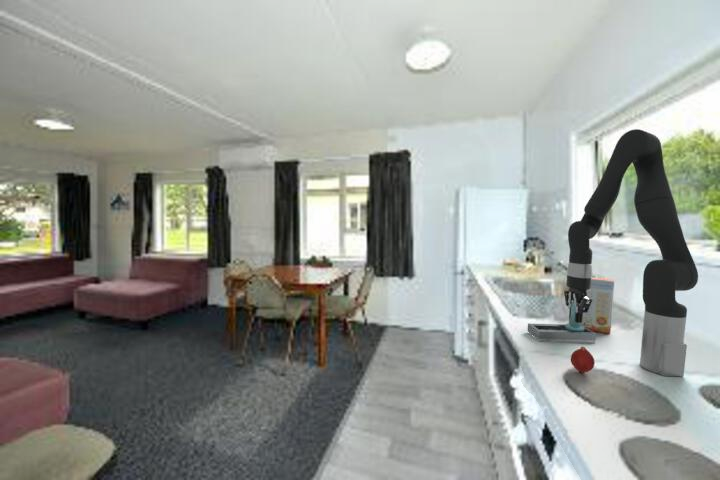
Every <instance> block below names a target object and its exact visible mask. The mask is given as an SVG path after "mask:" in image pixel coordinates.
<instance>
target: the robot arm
mask: <svg viewBox="0 0 720 480" xmlns="http://www.w3.org/2000/svg"><path fill="white" fill-rule="evenodd" d="M662 149H663V148H662V142H661V140H660V139H659V138H658V137H657V136H656V134H652V133H650V132H648V131H645V130H643V129H637V128H635V129H631V130H629V131H626V132H625V133H623V134H622V135H620V137H619V139H618V140H617V142H616V145H615V146H614V149H613V151H612V154H611V156H610V158H609V160H608V163H607V166H606V168H605V170H604V172H603V174H602V177H601V179H600V181H599V183H598V185H597V186H596V188H595V190H594V191H593V193H592V195H591V196H590V197H589V200H588V201H587V202H586V204H585V206H584V208H583V209H584V210H583V212H584V214H583V216H582V218H581V219H580V220H577V221H574V222H572V223H571V224H570V225H569V227H568V231H567V238H568V239H567V241H568V246H569V257H568V265H567V268H566V269H567V271H566V284H565V286H566V287H567V288H568V290H567V289H566V290H564V291H563V293H564V300H565V302H564V303H565V306H566V307H568V309H569V313H568V320H569V319H570V317H571V305H572V302H573V301H574V306H576V313H575V322H577V323H582V318H583V313H587V312H588V310H589V307H590V305H591V302H592V299H588V297H587V290H588V289H590V286H591V277H592V271H593V269H592V263H593V262H592V261H593V250H592V248H590V240H592V239H593V238H594V237H595V236H597V234H598V233H599V231H600V229H601V227H602V225H603V223H604V220H605V217H606V216H607V214H608V213H609V212H610V210H611V208H612V207H613V206H614V204H615V202H616V201H617V198H619V194H620V190H621V186H622V181H623V179H624V177H625V174H626V172H627V170H628V168H629V167H630V166H631V165H632V164H633V167H634V170H635V174H636V178H637V179H636V187H635V191H634V197H633V200H634V202H633V203H634V208H635V211H636V212H635V213H636V216H637V220H638V221H639V224H640V225H641V226H642V228H643V229H644V231H646V232H647V234H649V236H650V237H651V238H652V239H653V241H655V243H656V244H657V246H658V248H659V250H660V253H661V257H662V259H653V260H651V261H649V262H648V263H647V264H646V265H645V267H644V270H643V275H642V276H643V277H642V301H643V303H644V315H643V324H642V325H643V326H642V337H641V347H640V358H639V366H640V367H642V368H643V369H645V370H647V371H649V372H652V373H655V374H658V375H660V376H662V377H664V376H665V377H684V376H685V368H686V366H685V365H686V357H687V347H688V346H687V344H686V343H685V331H686V325H687V324H686V323H687V314H688V308H687V307H686V306H685V305H684V304H683V303H682V304H681V303H680V302H678V301H677V300H676V292H682V291H683V292H684V291H690V290H693V289H694V288H695V287H696V285H697V284H698V281H699V271H698V269H697V267H696V266H697V265H696V263H695V261H694V258H693V256H692V253H691V252H690V249H689V247H688V244H687V242H686V239H685V236H684V233H683V229H682V226H681V222H680V220H679V215H678V211H677V207H676V203H675V200H674V196H673V194H672V193H673V192H672V189H671V186H670V183H669V180H668V177H667V174H666V170H665V166H664V158H663V150H662ZM578 303H581V304H578ZM579 306H580V308H579ZM584 308H585V309H584Z"/></svg>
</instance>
